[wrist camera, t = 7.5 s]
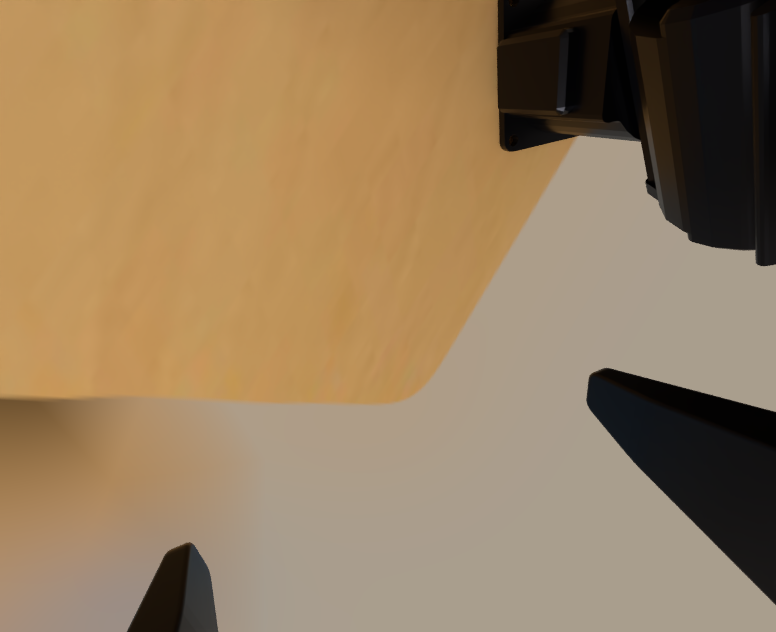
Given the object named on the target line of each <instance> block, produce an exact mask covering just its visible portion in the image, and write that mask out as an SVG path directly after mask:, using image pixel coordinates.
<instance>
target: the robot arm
mask: <svg viewBox="0 0 776 632" xmlns="http://www.w3.org/2000/svg"><path fill="white" fill-rule="evenodd" d="M497 71H498V108H499V129H500V146H501V148H502V149H503V150H505V151H518V150H522V149H526V148H530V147H534V146H538V145H543V144H547V143H551V142H555V141H559V140H563V139H567V138H572V137H576V136H590V137H601V138H610V139H620V140H629V141H639V142H641V144H642V150H643V155H644V160H645V166H646V172H647V177H648V179H647V180H646V188H647V192H648V194H650V195H651V196H652V197H654V198H655V199H657V200H658V202H659V206H660V208H661V210H662V212H663V214H664V216H665V218H666V220H668V221H669V222H671V223H672V224H673V225H675V226H677V227H678V228H679V229H681V230H682V231H684V232H686V233H687V234H688V238H689V240H690V241H692V242H695V243H699V244H702V245H706V246H710V247H715V248H722V249H733V250H756V263H757V264H758V265H760V266H768V265H774V264H776V0H513V5H512V6H510V5H509V0H498V47H497ZM511 136H512V137H513V141H512V143H511V144H509V139H510V137H511ZM586 401H587V405H588V406H589V408H590V410H591V411H592V413H593V414H594V415H595V416H596V417H597V419H598V420H599V421H600V422H601V423H602V425H603V426H604V427H605V428H606V429H607V431H608V432H609V433H610V434H611V436H612V437H613V438H614V439H615V440H616V442H617V443H618V444H619V445H620V446H621V448H622V449H623V450H624V451H625V452H626V454H627V455H628V456H629V457H630V458H631V459H632V460H633V462H634V463H635V464H636V465H637V466H638V467H639V468H640V469H641V470H642V471H643V472H644V473H645V474H646V475H647V476H648V477H649V478H650V479H651V480H652V481H653V482H654V483H655V484H656V485H657V486H658V487H659V488H660V489H661V490H662V491H663V492H664V493H665V494H666V495H667V496H668V497H669V498H670V499H671V500H672V501H673V502H674V503H675V504H676V505H677V506H678V507H679V508H680V509H681V510H682V511H683V512H684V513H685V514H686V515H687V516H688V517H689V518H690V519H691V520H692V521H693V522H694V523H695V524H696V525H697V526H698V527H699V528H700V529H701V530H702V531H703V532H704V533H705V534H706V535H707V536H708V537H709V538H710V539H711V540H712V541H713V542H714V543H715V544H716V545H717V546H718V547H719V548H720V549H721V550H722V551H723V552H724V553H725V554H726V555H727V556H728V557H729V558H730V560H731V561H733V562H734V564H735V565H736V566H737V567H739V569H741V571H742V572H744V573H745V575H746V576H747V577H748V578H750V580H751V581H753V583H754V584H755V585H756V586H757V587H758V588H759V589H760V590H761V591H762V592H763V593H764V594H765V595H766V596H768V598H769V599H770V600H771V601H772V602H773V603H774V604H775V605H776V412H774V411H770V410H766V409H762V408H758V407H754V406H751V405H747V404H743V403H739V402H736V401H732V400H728V399H724V398H721V397H716V396H713V395H709V394H705V393H701V392H698V391H693V390H690V389H686V388H682V387H678V386H675V385H671V384H667V383H663V382H660V381H655V380H652V379H648V378H644V377H641V376H637V375H633V374H629V373H625V372H622V371H618V370H614V369H610V368H604V369H601V370H599V371H596V372H594V373H592V374H591V375H590V377H589V382H588V390H587V399H586ZM127 632H218V627H217V620H216V613H215V605H214V598H213V590H212V582H211V576H210V572H209V569H208V567H207V565H206V563H205V562H204V560H203V558H202V557H201V555H200V554H199V552H198V550H197V549H196V547H195V546H194V545H193V544H192V543H190V542H189V543H185V544H183V545H180V546H178V547H176V548H173V549H171V550H169V551H168V552H167V553H166V554H165V556H164V558H163V560H162V562H161V564H160V566H159V568H158V570H157V572H156V574H155V576H154V578H153V580H152V582H151V584H150V586H149V588H148V590H147V592H146V594H145V596H144V598H143V600H142V602H141V604H140V606H139V608H138V610H137V612H136V614H135V616H134V618H133V620H132V622H131V624H130V627H129V628H128V631H127Z"/></svg>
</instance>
